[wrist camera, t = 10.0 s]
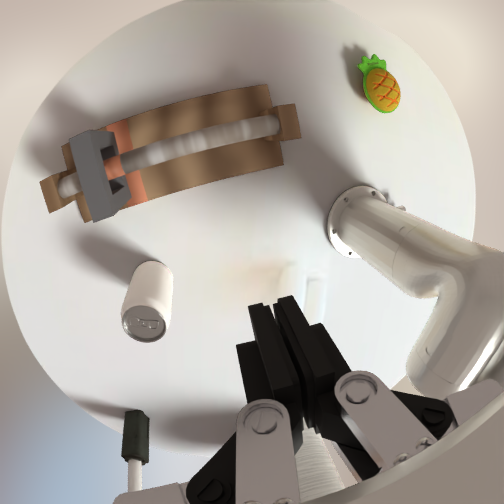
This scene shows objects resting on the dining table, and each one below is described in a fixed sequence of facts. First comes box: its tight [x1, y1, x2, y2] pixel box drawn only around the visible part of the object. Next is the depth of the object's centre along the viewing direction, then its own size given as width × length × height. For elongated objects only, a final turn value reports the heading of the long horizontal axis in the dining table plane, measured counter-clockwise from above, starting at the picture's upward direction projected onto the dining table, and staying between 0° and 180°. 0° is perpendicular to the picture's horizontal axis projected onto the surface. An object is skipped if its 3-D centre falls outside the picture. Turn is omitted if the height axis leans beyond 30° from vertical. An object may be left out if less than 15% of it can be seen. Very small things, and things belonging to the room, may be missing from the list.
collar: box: [69, 130, 132, 223], centre depth 27 cm, size 2×9×9 cm, turn 12°
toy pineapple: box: [358, 54, 400, 113], centre depth 33 cm, size 7×10×5 cm
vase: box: [295, 418, 345, 503], centre depth 50 cm, size 20×20×34 cm
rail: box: [40, 84, 301, 223], centre depth 30 cm, size 30×12×10 cm, turn 102°
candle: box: [121, 410, 150, 492], centre depth 42 cm, size 5×5×25 cm
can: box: [121, 261, 173, 343], centre depth 36 cm, size 6×6×12 cm
